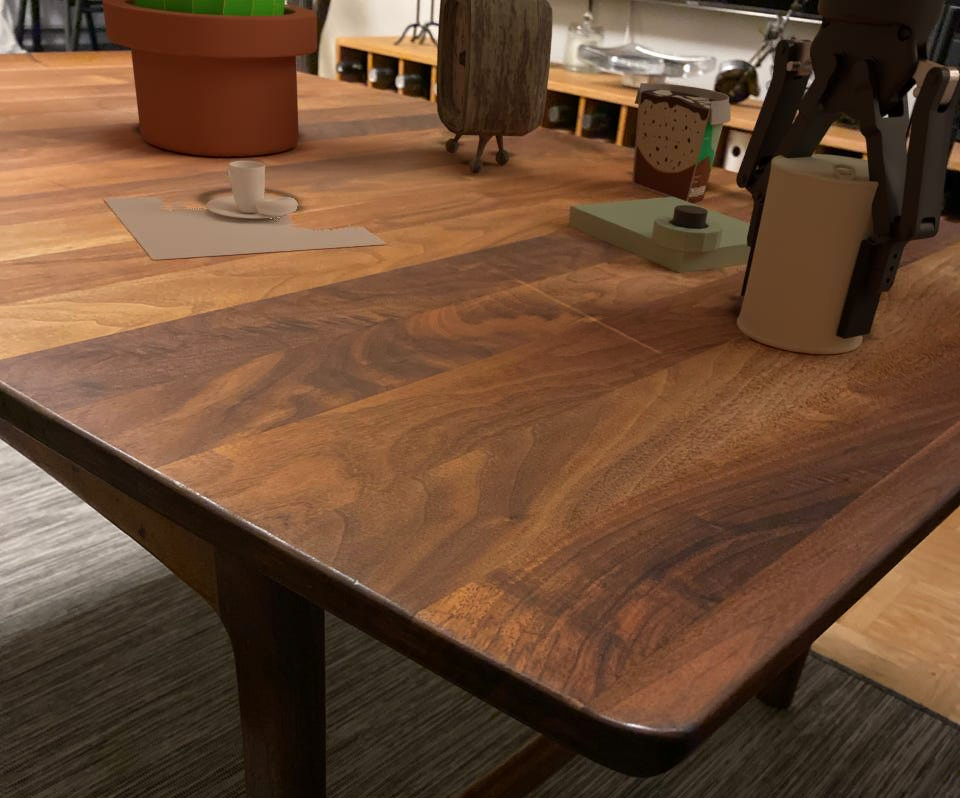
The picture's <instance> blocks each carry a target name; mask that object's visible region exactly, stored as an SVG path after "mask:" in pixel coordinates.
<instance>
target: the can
mask: <svg viewBox="0 0 960 798" xmlns="http://www.w3.org/2000/svg"><path fill="white" fill-rule="evenodd" d="M877 187H878V182H870V181H869V171H868V160H867V159H864V158H863V159H862V158H857V157H850V156H844V155H843V156H842V155H834V154H826V153H825V154H824V153H813V155H812V156H811V157H800V158H786V157H784V156H783V155H779V156H776V157H775V158H773V159H772V162H771V171H770V177H769V182H768V187H767V192H766V197H765V202H764V207H763V212H762V217H761V222H760V227H759V232H758V236H757V241H756V246H755V250H754V255H753V260H752V264H751V269H750V274H749V278H748V283H747V287H746V292H745V296H743V301H742V303H741V304H742V305H741V307H740V308H741V309H740V312H739V315H738V317H737V318H736V326H737V328H738V330H739V331H740V332H741V333H742V334H743V335H744V336H747V337H748V338H750V339H752V340H754V341H755V342H757V343H760V344H763V345H766V346H769V347H772V348H776V349H779V350H784V351H788V352H793V353H794V352H795V353H800V354H801V353H802V354H810V355H837V354H839V355H840V354H844V353H849V352H852V351H854V350H856V349H858V348H859V347H860V346H861V345H862V343H863V340H864V339H863V335H862V336H856V337H851V338H846V339H843V338H841V337H839V336H836V334H837V330H838V326H839V323H840V319H841V315H842V312H843V308H844V304H845V300H846V297H847V293H848V289H849V286H850V282H851V278H852V275H853V271H854V267H855V264H856V260H857V256H858V253H859V249H860V245H861V242H862V240H867V237H871V236H874V228H873V217H872V202H873V199H874V196H875V192H876V189H877Z"/></svg>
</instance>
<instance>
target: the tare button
mask: <svg viewBox="0 0 960 798" xmlns="http://www.w3.org/2000/svg"><path fill="white" fill-rule="evenodd" d="M701 207H702V206H701ZM701 207H697V206H691V205H679V206H676V207H675V209H674V215H673V221H672V225H675V226H678V227H683V228H688V229H704V228H705V224H706V218H707V213H708V211H707V210H706V209H704V208H705V207H704V208H701Z"/></svg>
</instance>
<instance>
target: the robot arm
mask: <svg viewBox="0 0 960 798" xmlns="http://www.w3.org/2000/svg"><path fill="white" fill-rule="evenodd" d="M945 2H946V0H818V4H817V11H818V14H819V15H820V16H821V17H822V18H821V25H820V27H819V29H818V31H817V33H816V35H815V36H814V38H813V39H812V40H811V39H797V38H796V39H793V38H792V39H791V38H789V39H788V38H786V39H785V38H784V39H780V40H779V41H778V42H777V44H776V46H775V51H774V60H773V69H772V76H771V80H770V83H769V84H768V85H769V86H768V88H767V91H766V93H765V97H764V99H763V102H762V105H761V108H760V110H759V113H758V116H757V119H756V121H755V124H754V127H753V129H752V133H751V136H750V138H749V141H748V144H747V146H746V149H745V152H744V155H743V157H742V160H741V163H740V166H739V168H738V171H737V174H736V177H735V183H736V185H737V187H738V188H740V189H745V190H746V191H747V192H748V193H749V194H750V195H751V200H752V201H753V206H752V211H751V216H750V221H749V224H750V225H749V231H748V235H747V246H749V247H751V249H750V253H749V258H748V263H747V264H746V268H745V272H744V277H743V281H742V286H741V292H740V296H742V297H744V296H745V292H746V287H747V283H748V278H749V274H750V269H751V264H752V260H753V255H754V250H755V246H756V241H757V236H758V232H759V227H760V222H761V217H762V212H763V207H764V202H765V197H766V192H767V187H768V182H769V177H770V171H771V162H772V159H773V158H775V157H776V156H779V155H783V156H784V157H786V158H800V157H811V156H812V155H813V154H815V152H816V150H817V149H818V147H819V146H820V144H821V142H822V141H823V139H824V138H825V136H826V134H827V132H828V131H829V130H830V128H831V126H832V125H833V124H834V123H835V122H837V121H838V120H840V119H841V118H842V116H843V115H846V116H847V117H849V118H850V119H853V120H857V121H858V123H859V124H858V125H859V126H858V127H859V132H860V134H861V135H862V136H863V137H864V139H865V146H866V147H865V148H866V157H867V158H866V160H868V171H869V181H870V182H878V187H877V189H876V192H875V196H874V199H873V202H872V217H873V228H874V236H871V237H867V240H862V242H861V245H860V249H859V253H858V256H857V260H856V264H855V267H854V271H853V275H852V278H851V282H850V286H849V289H848V293H847V297H846V300H845V304H844V308H843V312H842V315H841V319H840V323H839V326H838V330H837V334H836V336H839V337H841V338H843V339H846V338H851V337H856V336H862V337H863V336H866V335H870V334H871V330H872V328H873V324H874V320H875V316H876V313H877V309H878V307H879V303H880V300H881V296H882V294H883V293H887V292H889V291H891V289H892V287H893V286H894V284H895V281H896V276H897V274H898V270H899V266H900V263H901V260H902V257H903V253H904V249H905V248H906V246H907V245H908V243H910V242H913V241H919V240H926V239H931V238H934V237H936V235H937V234H938V233H939V229H940V222H941V215H942V207H943V200H944V192H945V185H946V176H947V168H948V160H949V153H950V145H951V137H952V129H953V120H954V113H955V109H956V106H957V104H958V101H959V99H960V66H945V65H942V64H940V63H937V62H934V61H931V60H930V52H929V51H930V50H929V41H930V35H932V31H933V30H934V29H935V27H936V25H937V24H938V23H939V22H940V19H941V17H942V15H943V14H942V13H943V10H944V6H945ZM811 72H813V75H814V79H813V80H812V82H811V84H810V85H809V87H808V89H807V86H808V84H809V80H810V76H811V75H810V74H811ZM914 86H916V87H914ZM912 89H913V90H912ZM911 90H912V96H913V98H916V100H915V103H914V107H913V111H912V116H911V121H910V109H909V108H910V107H909V98H908V97H909V96H908V93H909V92H910V91H911ZM909 126H910V132H909V142H908V145H907V135H906V131H907V129H909ZM907 146H908V147H907Z"/></svg>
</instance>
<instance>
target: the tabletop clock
mask: <svg viewBox="0 0 960 798" xmlns="http://www.w3.org/2000/svg"><path fill="white" fill-rule="evenodd" d="M553 20H554V19H553V7H552V4H551V3H550V1H548V0H440V1H439V12H438V28H437V30H438V31H437V45H436V46H437V49H436V50H437V51H436V111H437V115H438V117H439V120H440V122H441V123H442V124H443V125H444V127H445V128H446V129H447V130H448V131H449V132H450V133H452V134H455V136H454V138H453V137H452V138H448V140H447V141H446V142H445V150H446V152H447V153H448V154H456V153H457V152H458V149H459V147H460V145H459V142H458V141H459V140H460V139H461V137H462V136H478V144H477V148H476V153H475V157H472V158H471V159H470V160H469V161H468V164H467V165H468V166H467V167H468V170H469V172H470V173H471V174H474V175H477V174H479V173H480V172H481V171H482V170H483V166H484V165H483V161H482V160H481V157H482V155H483V154H484V153H483V152H484V151H485V148H486V146H487V144H488V142H489V141H490V140H491V139H492V138H493V137H495V140H496V144H497V148H498V151H497V152H496V153H495V162H496V163H497V164H498V165H501V166H504V165H506V164H508V162H509V160H510V154H509V152H508V151H507V150H506V149H504V137H525V136H526V135H528V134H530V133H532V132H533V131H535V130H536V129H538V128H540V127H541V126H542V124H543V120H544V116H545V110H546V103H547V94H548V85H549V76H550V65H551V53H552V41H553V40H552V39H553Z"/></svg>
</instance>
